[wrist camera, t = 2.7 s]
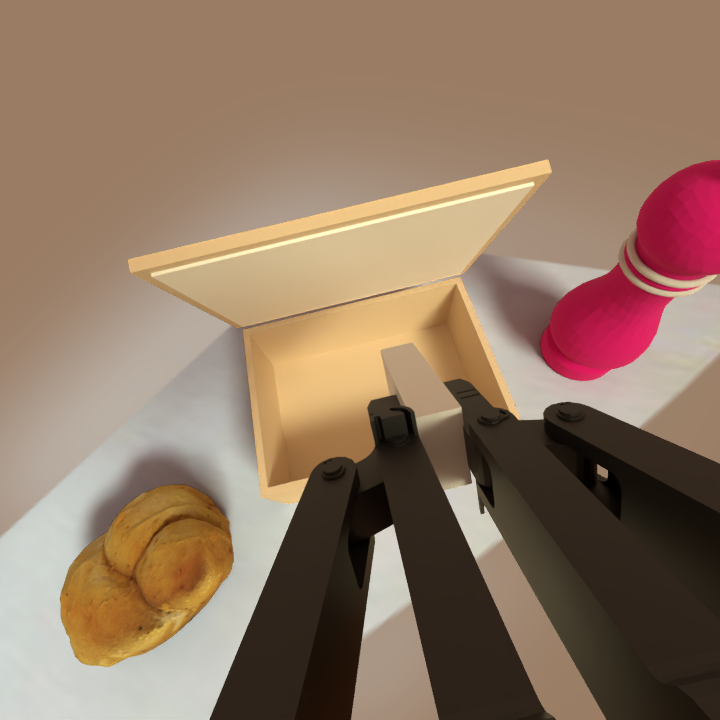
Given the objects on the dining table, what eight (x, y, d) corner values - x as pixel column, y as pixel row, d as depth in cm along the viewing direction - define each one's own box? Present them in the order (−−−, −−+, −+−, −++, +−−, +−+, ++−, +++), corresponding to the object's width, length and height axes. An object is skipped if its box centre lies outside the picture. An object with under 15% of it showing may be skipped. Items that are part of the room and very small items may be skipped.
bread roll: (120, 692, 27) (18, 752, 20) (72, 571, 30) (-30, 584, 23) (267, 562, 29) (226, 573, 22) (207, 465, 33) (154, 447, 26)
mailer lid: (131, 276, 16) (127, 259, 16) (237, 330, 30) (235, 320, 30) (552, 175, 16) (548, 159, 16) (465, 274, 30) (462, 265, 30)
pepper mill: (580, 402, 32) (818, 240, 14) (517, 344, 35) (648, 146, 17) (636, 354, 34) (917, 150, 16) (570, 302, 36) (745, 76, 18)
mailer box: (288, 504, 31) (261, 497, 25) (269, 364, 36) (242, 329, 30) (499, 451, 31) (525, 431, 25) (448, 320, 37) (460, 276, 30)
